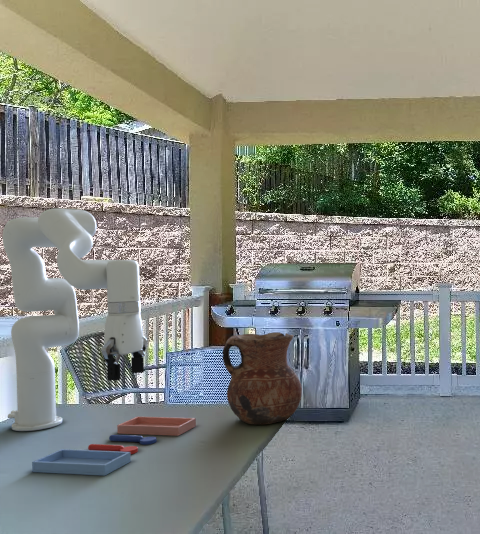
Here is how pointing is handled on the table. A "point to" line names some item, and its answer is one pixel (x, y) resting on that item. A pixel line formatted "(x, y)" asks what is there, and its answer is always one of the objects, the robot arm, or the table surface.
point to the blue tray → (81, 462)
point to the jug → (262, 379)
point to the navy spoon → (133, 439)
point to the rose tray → (156, 426)
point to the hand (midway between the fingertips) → (126, 376)
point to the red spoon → (113, 448)
